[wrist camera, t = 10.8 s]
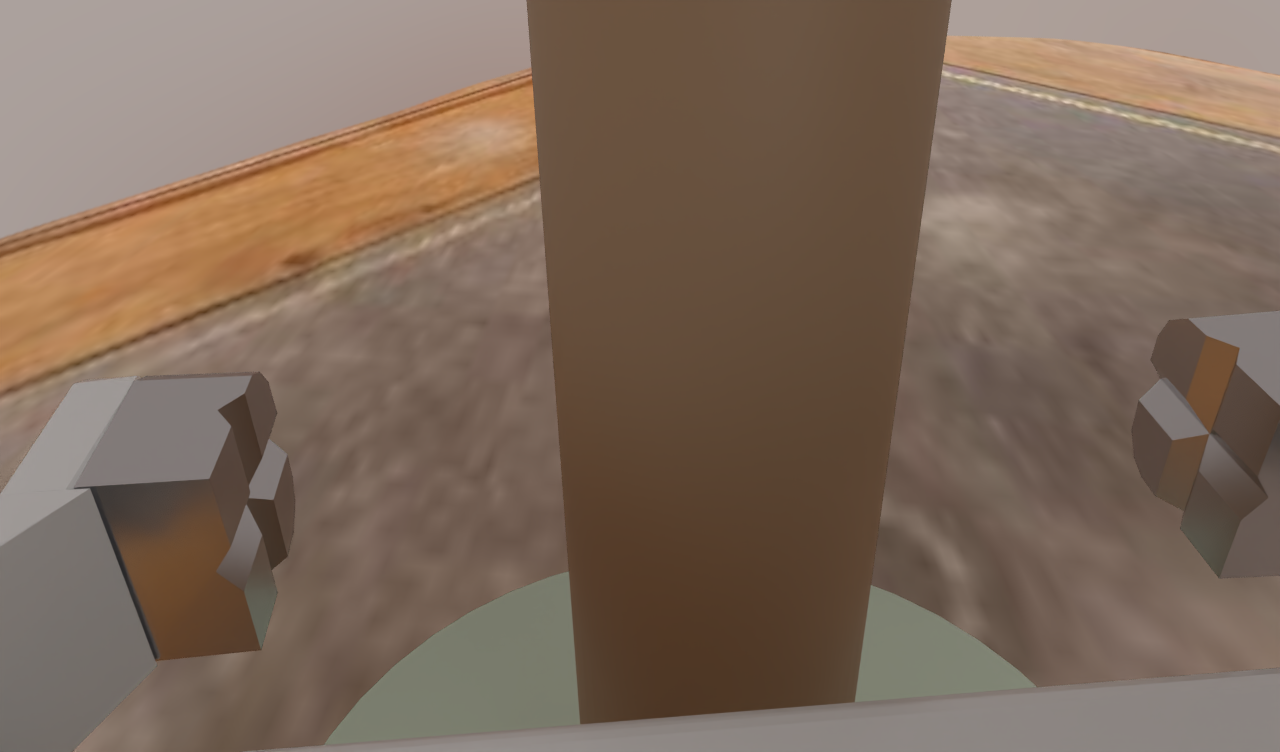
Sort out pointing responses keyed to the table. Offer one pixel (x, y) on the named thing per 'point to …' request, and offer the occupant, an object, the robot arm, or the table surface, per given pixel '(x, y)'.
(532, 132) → the table surface
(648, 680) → the peg stand
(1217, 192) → the table surface
